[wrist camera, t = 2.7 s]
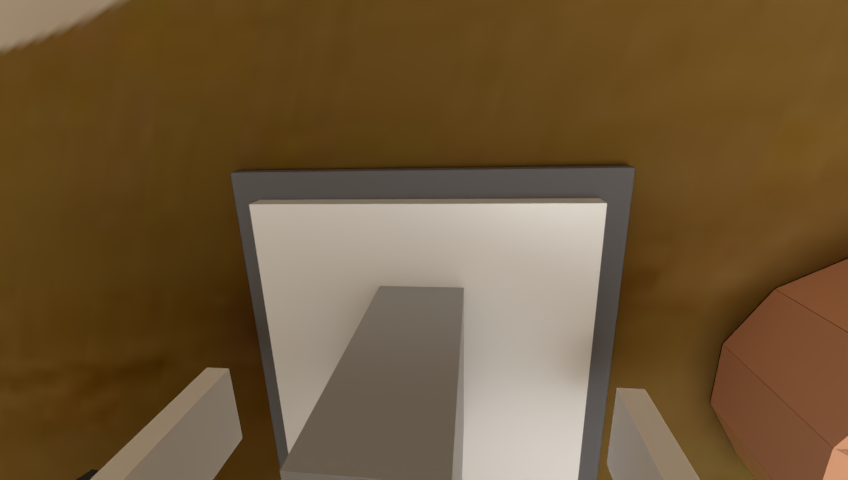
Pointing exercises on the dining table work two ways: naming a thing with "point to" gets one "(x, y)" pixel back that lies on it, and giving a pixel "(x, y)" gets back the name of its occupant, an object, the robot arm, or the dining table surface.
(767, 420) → the bowl
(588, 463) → the rubber mat
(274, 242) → the cover sheet
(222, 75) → the dining table surface
